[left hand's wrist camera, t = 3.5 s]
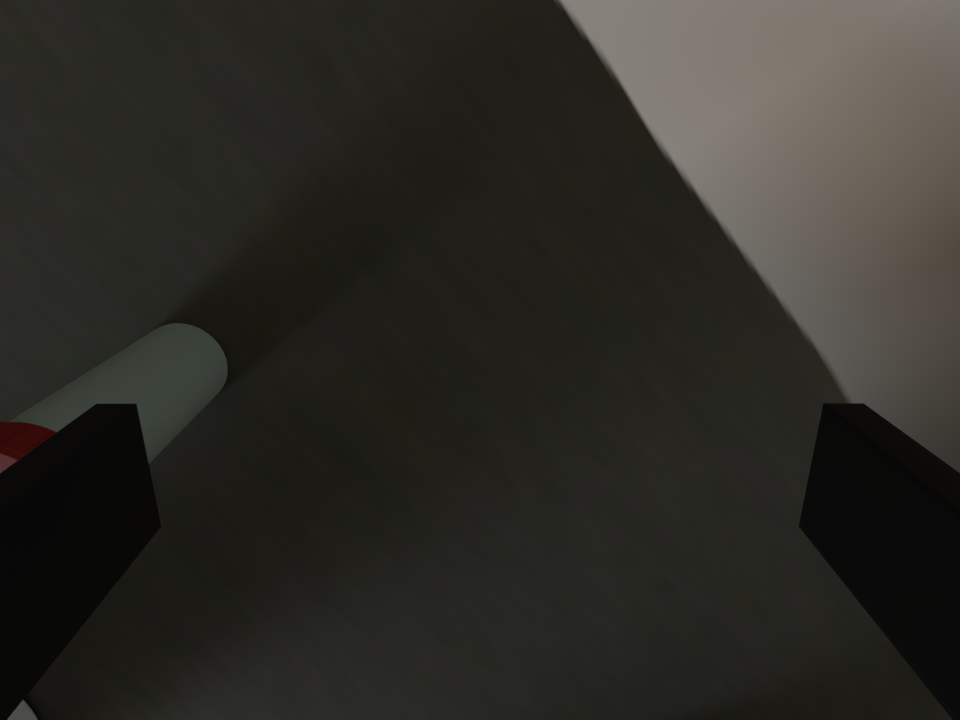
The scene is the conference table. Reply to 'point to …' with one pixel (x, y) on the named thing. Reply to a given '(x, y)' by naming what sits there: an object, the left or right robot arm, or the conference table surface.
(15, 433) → the lid
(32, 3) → the conference table surface
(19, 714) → the right robot arm
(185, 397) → the jar
